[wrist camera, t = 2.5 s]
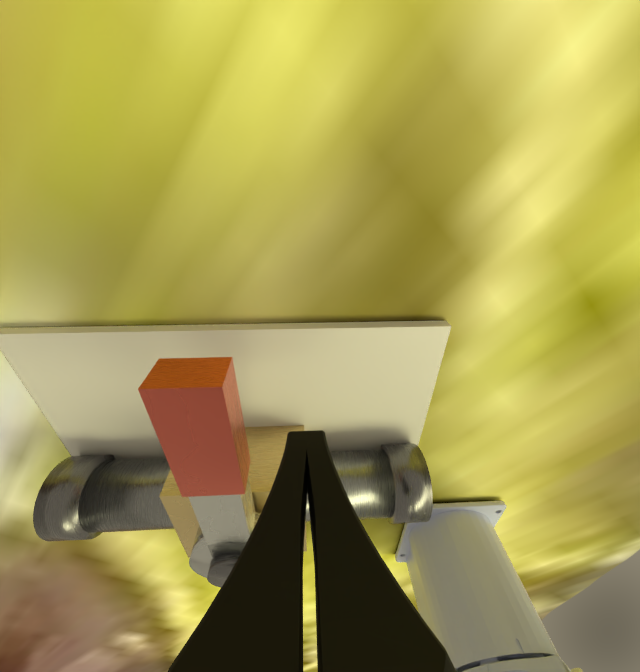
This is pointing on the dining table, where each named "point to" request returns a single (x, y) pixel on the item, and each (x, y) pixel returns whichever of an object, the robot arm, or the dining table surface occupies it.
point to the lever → (205, 454)
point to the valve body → (177, 512)
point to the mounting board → (251, 375)
